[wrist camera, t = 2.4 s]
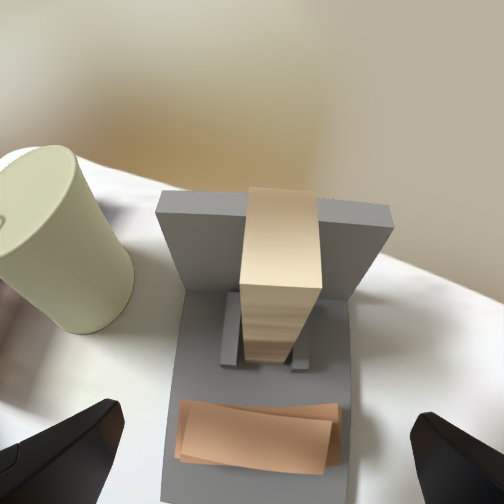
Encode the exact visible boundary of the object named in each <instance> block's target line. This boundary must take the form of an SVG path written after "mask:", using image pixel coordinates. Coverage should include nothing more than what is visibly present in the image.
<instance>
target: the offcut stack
mask: <svg viewBox="0 0 504 504" xmlns="http://www.w3.org/2000/svg"><path fill="white" fill-rule="evenodd" d="M341 423H342V407H338V404H337V403H331V404H320V405H307V406H289V407H258V406H243V405H230V404H220V403H211V402H202V401H195V400H187V399H180V408H179V417H178V426H177V436H176V446H175V457H174V458H178V459H180V462H185V463H196V464H209V465H228V466H240V467H246V468H253V469H260V470H268V471H276V472H286V473H298V474H315V475H323V473H324V468H325V467H334V466H339V465H340V448H341Z"/></svg>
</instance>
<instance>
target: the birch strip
mask: <svg viewBox="0 0 504 504" xmlns="http://www.w3.org/2000/svg"><path fill="white" fill-rule="evenodd" d="M239 284H240V299H241V314H242V328H243V342H244V356H245V363H251V364H268V365H283V363H284V362H285V360H286V358H287V356H288V354H289V352H290V351H291V349H292V347H293V345H294V343H295V341H296V339H297V337H298V336H299V334H300V332H301V330H302V328H303V326H304V324H305V322H306V320H307V318H308V316H309V314H310V312H311V310H312V308H313V306H314V304H315V302H316V300H317V298H318V296H319V294H320V292H321V290H322V272H321V254H320V239H319V225H318V213H317V201H316V192H315V191H303V190H290V189H276V188H259V187H249V194H248V204H247V214H246V223H245V233H244V243H243V253H242V263H241V273H240V283H239Z"/></svg>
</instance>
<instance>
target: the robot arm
mask: <svg viewBox="0 0 504 504" xmlns="http://www.w3.org/2000/svg"><path fill="white" fill-rule="evenodd" d="M124 424H125V421H124V417H123V413H122V409H121V405H120V403H119V402H118V401H116V400H112V399H104V400H102V401H100V402H98V403H96V404H94V405H93V406H91V407H89V408H87V409H85V410H83V411H81V412H79V413H77V414H76V415H74V416H72V417H70V418H68V419H66V420H64V421H62V422H60V423H58V424H56V425H54V426H52V427H50V428H48V429H46V430H44V431H42V432H40V433H38V434H36V435H34V436H32V437H30V438H28V439H25V440H23V441H21V442H20V443H17V444H15V445H12V446H10V447H8V448H6V449H3V450H1V451H0V504H96V502H97V500H98V498H99V495H100V493H101V491H102V488H103V486H104V484H105V481H106V479H107V477H108V474H109V472H110V470H111V467H112V465H113V462H114V459H115V455H116V452H117V448H118V445H119V442H120V438H121V435H122V432H123V429H124ZM410 440H411V445H412V450H413V455H414V460H415V466H416V471H417V475H418V479H419V483H420V486H421V489H422V493H423V496H424V500H425V504H504V454H502V453H500V452H498V451H497V450H495V449H493V448H491V447H490V446H488V445H486V444H485V443H483V442H481V441H479V440H478V439H476V438H474V437H473V436H471V435H469V434H468V433H466V432H464V431H463V430H461V429H459V428H458V427H456V426H454V425H453V424H451V423H450V422H448V421H446V420H445V419H443V418H441V417H440V416H438V415H437V414H435V413H433V412H425V413H421V414H420V415H419V416H418V417H417V420H416V422H415V424H414V426H413V428H412V430H411V432H410Z"/></svg>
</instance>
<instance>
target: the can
mask: <svg viewBox="0 0 504 504" xmlns="http://www.w3.org/2000/svg"><path fill="white" fill-rule="evenodd" d="M0 278H1V279H2V280H3V281H4V282H5V283H7V284H8V285H9V286H10V287H12V288H13V289H14V290H15V291H16V292H18V293H19V294H20V295H21V296H23V297H24V298H25V299H26V300H28V301H29V302H30V303H31V304H33V305H34V306H35V307H37V308H38V309H39V310H41V311H42V312H43V313H45V314H46V315H47V316H49V317H50V318H51V319H52V320H53V321H54V322H55V323H56V324H57V325H58V326H59V327H61V328H62V329H64V330H66V331H68V332H71V333H75V334H87V333H92V332H95V331H98V330H100V329H102V328H104V327H106V326H107V325H109V324H110V323H111V322H113V321H114V320H115V319H116V318H117V317H118V316H119V315H120V313H121V312H122V311H123V309H124V308H125V306H126V305H127V303H128V301H129V299H130V296H131V294H132V290H133V286H134V279H135V277H134V266H133V262H132V260H131V257H130V255H129V254H128V252H127V251H126V250H125V249H124V247H122V245H121V244H120V242H119V241H118V239H117V237H116V236H115V234H114V232H113V231H112V229H111V227H110V225H109V224H108V222H107V220H106V218H105V217H104V215H103V213H102V211H101V209H100V207H99V206H98V204H97V202H96V200H95V198H94V196H93V194H92V192H91V190H90V188H89V186H88V184H87V182H86V180H85V178H84V176H83V174H82V171H81V169H80V167H79V164H78V161H77V158H76V156H75V154H74V153H73V152H72V151H71V150H70V149H68V148H67V147H65V146H60V145H50V146H44V147H41V148H38V149H35V150H32V151H30V152H28V153H26V154H24V155H22V156H21V157H19V158H18V159H16V160H14V161H13V162H12V163H10V164H9V165H8V166H7V167H5V168H4V169H3V170H2V171H1V172H0Z"/></svg>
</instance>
